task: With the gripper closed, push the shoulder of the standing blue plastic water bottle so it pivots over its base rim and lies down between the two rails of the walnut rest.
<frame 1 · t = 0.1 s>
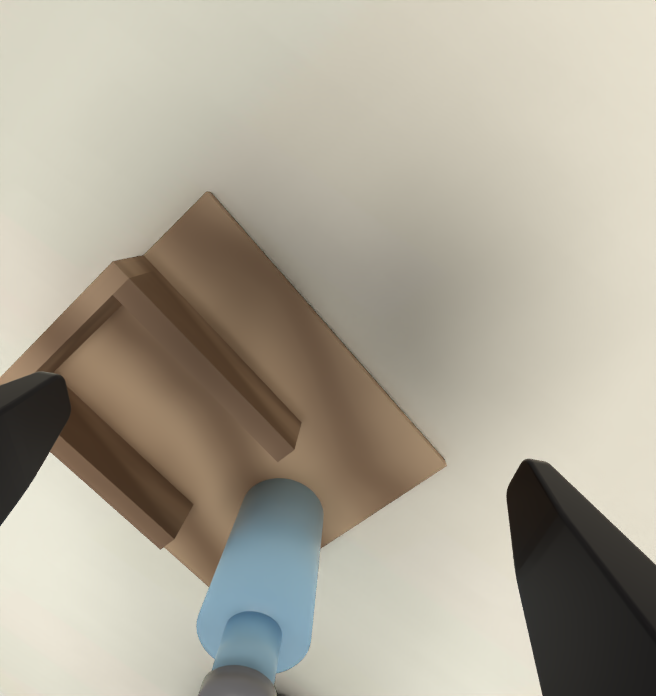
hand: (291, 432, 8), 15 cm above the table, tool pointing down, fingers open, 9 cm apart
bottle: (282, 513, 27), point 1 cm above the table, touching rest
rest: (224, 427, 26), on the table
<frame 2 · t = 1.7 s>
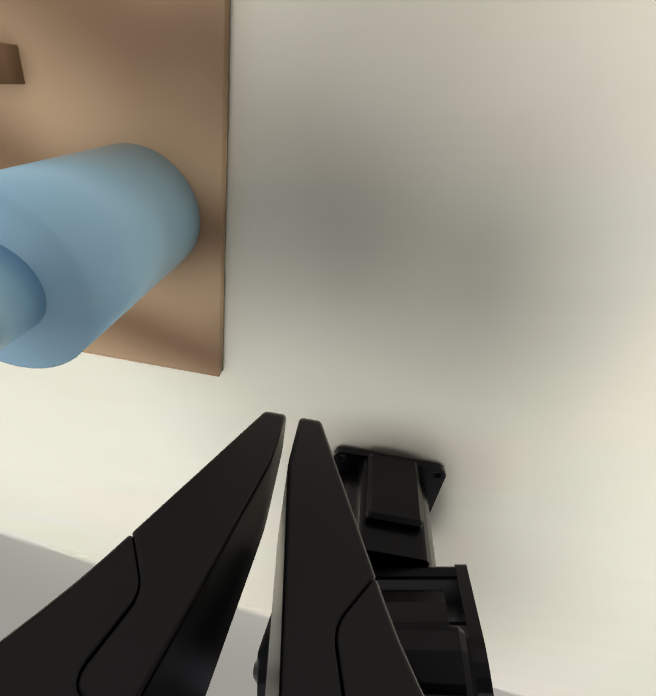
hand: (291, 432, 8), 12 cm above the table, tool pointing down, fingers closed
bottle: (139, 210, 18), point 1 cm above the table, touching rest
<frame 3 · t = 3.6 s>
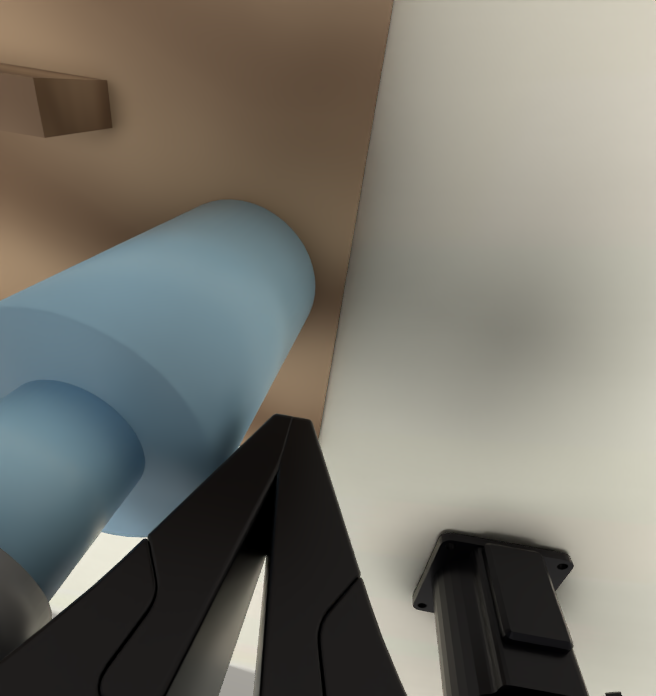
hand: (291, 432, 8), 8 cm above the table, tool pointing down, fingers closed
bottle: (239, 279, 14), point 1 cm above the table, tilted 5°, touching gripper, rest
rest: (61, 211, 15), on the table
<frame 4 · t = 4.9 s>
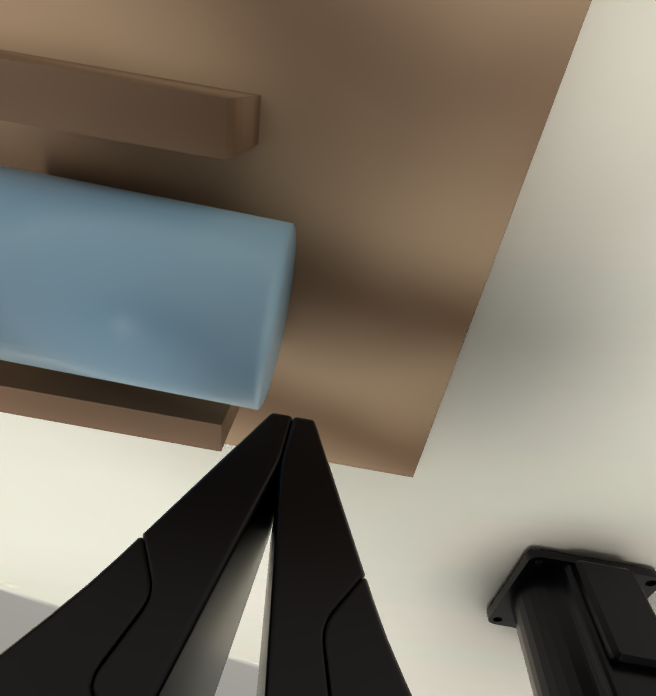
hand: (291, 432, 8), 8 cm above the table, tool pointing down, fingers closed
bottle: (277, 317, 12), point 3 cm above the table, tilted 90°, touching rest
rest: (182, 227, 14), on the table
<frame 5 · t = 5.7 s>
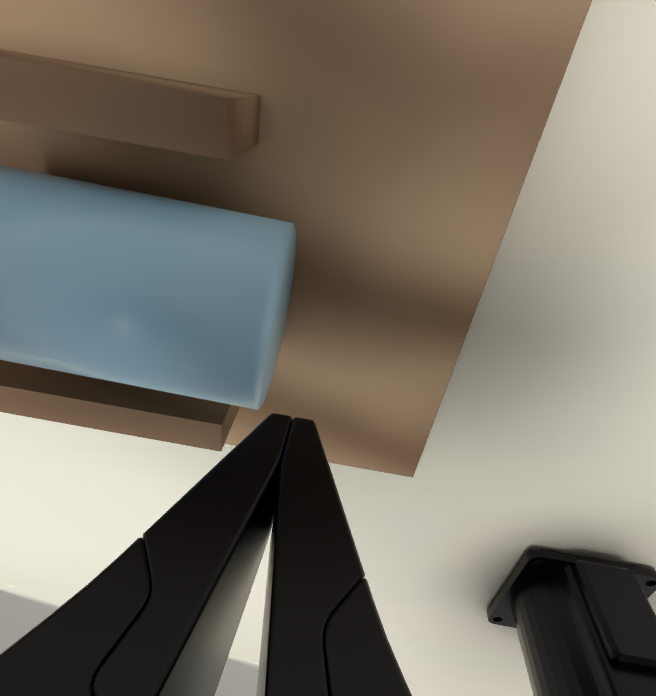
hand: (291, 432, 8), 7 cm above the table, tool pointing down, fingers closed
bottle: (277, 317, 12), point 3 cm above the table, tilted 90°, touching rest
rest: (182, 227, 14), on the table
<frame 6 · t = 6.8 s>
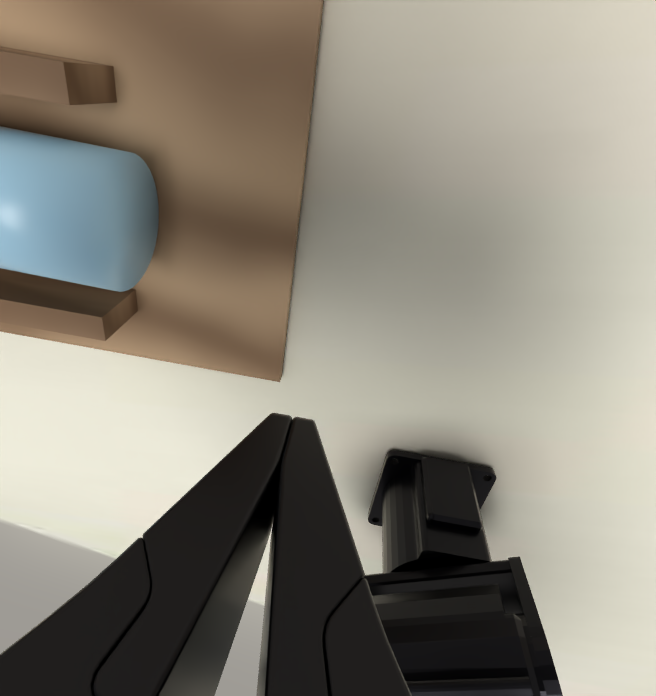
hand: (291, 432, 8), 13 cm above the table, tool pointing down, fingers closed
bottle: (129, 225, 16), point 3 cm above the table, tilted 90°, touching rest
rest: (76, 170, 19), on the table
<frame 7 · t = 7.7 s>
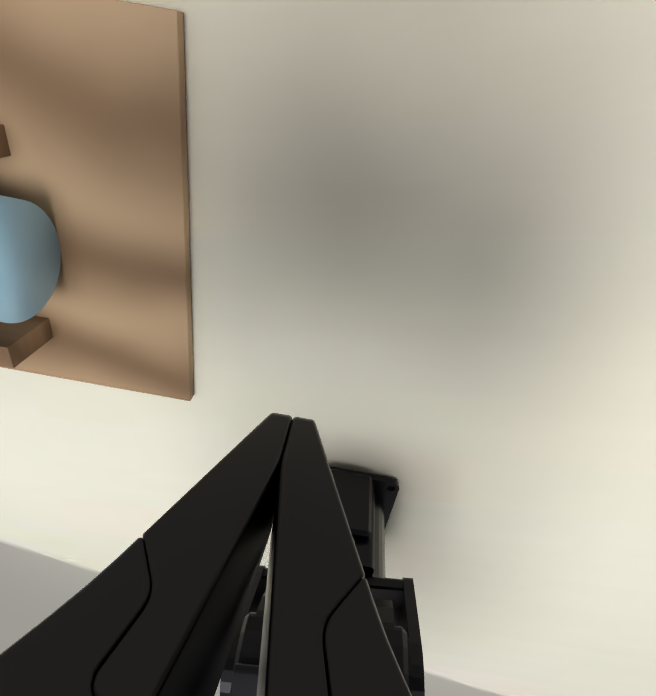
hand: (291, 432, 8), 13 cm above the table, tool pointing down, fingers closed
bottle: (21, 263, 18), point 3 cm above the table, tilted 90°, touching rest
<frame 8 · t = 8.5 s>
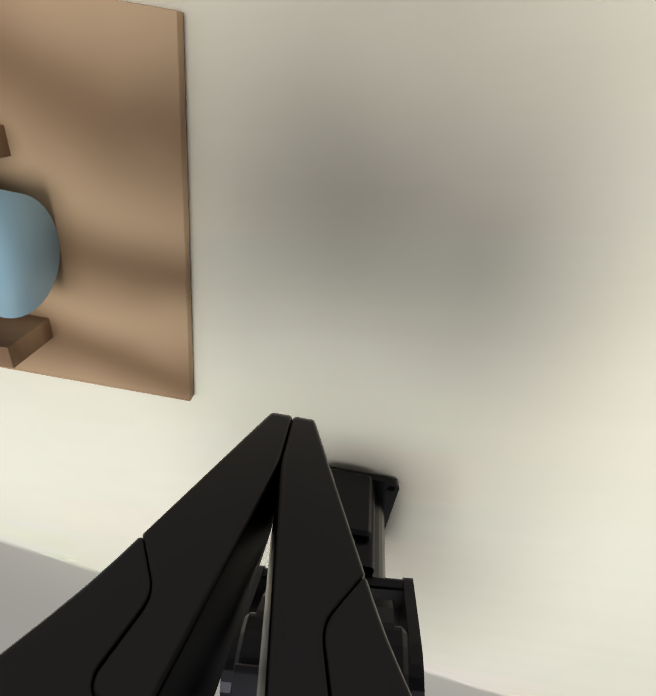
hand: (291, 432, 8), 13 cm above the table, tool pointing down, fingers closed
bottle: (19, 257, 18), point 3 cm above the table, tilted 90°, touching rest
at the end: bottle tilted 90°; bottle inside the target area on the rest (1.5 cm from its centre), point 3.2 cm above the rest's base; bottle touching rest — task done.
